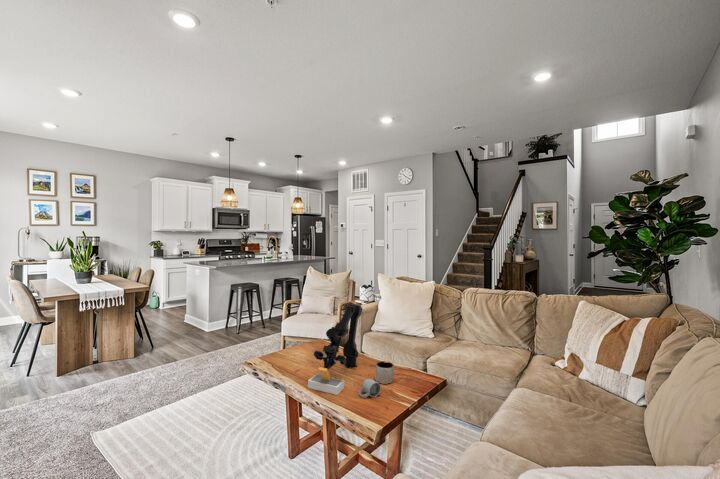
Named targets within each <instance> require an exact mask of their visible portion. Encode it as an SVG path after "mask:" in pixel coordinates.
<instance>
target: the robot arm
mask: <svg viewBox="0 0 720 479" xmlns="http://www.w3.org/2000/svg"><path fill="white" fill-rule="evenodd" d="M362 313H363V306H361V305H359V304H353V303H352V304H351V305H347V306H346V309H345V312H344V314H343V315H342V317H341V319H340V321H339V322H338V323H336V324H335V326H331V328H329V329H327V330H326V333H325V334H326V338H328V341H329V342H330V343H329V344H328V345H323V348H322V351H319V350H315V351H314V352H313V356H314V357H315V359H316V360H321V361H322V360H323V368H327V369H328V371H329V370H330V369H331V368H332V367H333V366H334V365H336V364H337V362H339V363H340V365H345V367H346V369H347V368H349V369H350V368H357V367H358V365H357V364H356V363H357V359H358V358H359V351H358V349H357V347H358V346H357V344H356V338H357V337H356V336H357V328H358V320H359V318H360V317H361V316H362ZM348 325H349V328H347V327H348ZM348 329H349V330H348ZM347 333H348V336H347ZM346 336H347V341H346V342H345V343H344V345H343V348H342V354H343V355H341V354H338V353H339V352H340V351H339V349H340V346H341V344H342V343H343V340H342V338H344V337H346ZM323 352H324V353H323Z"/></svg>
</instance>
